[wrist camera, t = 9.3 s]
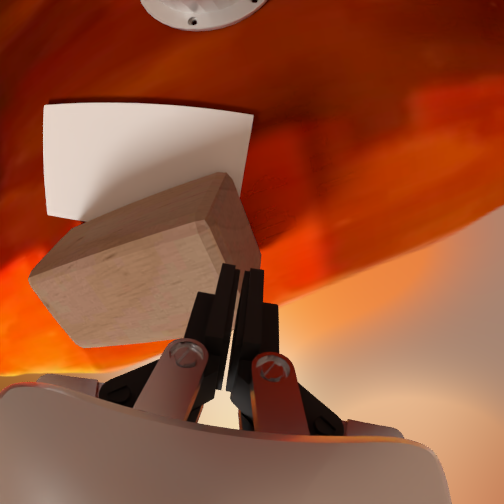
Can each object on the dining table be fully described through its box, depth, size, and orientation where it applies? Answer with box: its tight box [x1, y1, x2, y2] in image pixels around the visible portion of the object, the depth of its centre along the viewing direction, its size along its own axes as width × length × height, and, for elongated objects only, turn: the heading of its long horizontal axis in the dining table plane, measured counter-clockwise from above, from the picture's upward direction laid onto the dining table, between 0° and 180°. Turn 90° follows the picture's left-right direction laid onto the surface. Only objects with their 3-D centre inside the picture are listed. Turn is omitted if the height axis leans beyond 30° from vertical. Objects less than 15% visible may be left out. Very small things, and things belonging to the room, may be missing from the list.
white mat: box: [43, 102, 254, 222], centre depth 27 cm, size 13×22×1 cm, turn 80°
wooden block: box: [28, 172, 261, 348], centre depth 26 cm, size 10×10×20 cm
